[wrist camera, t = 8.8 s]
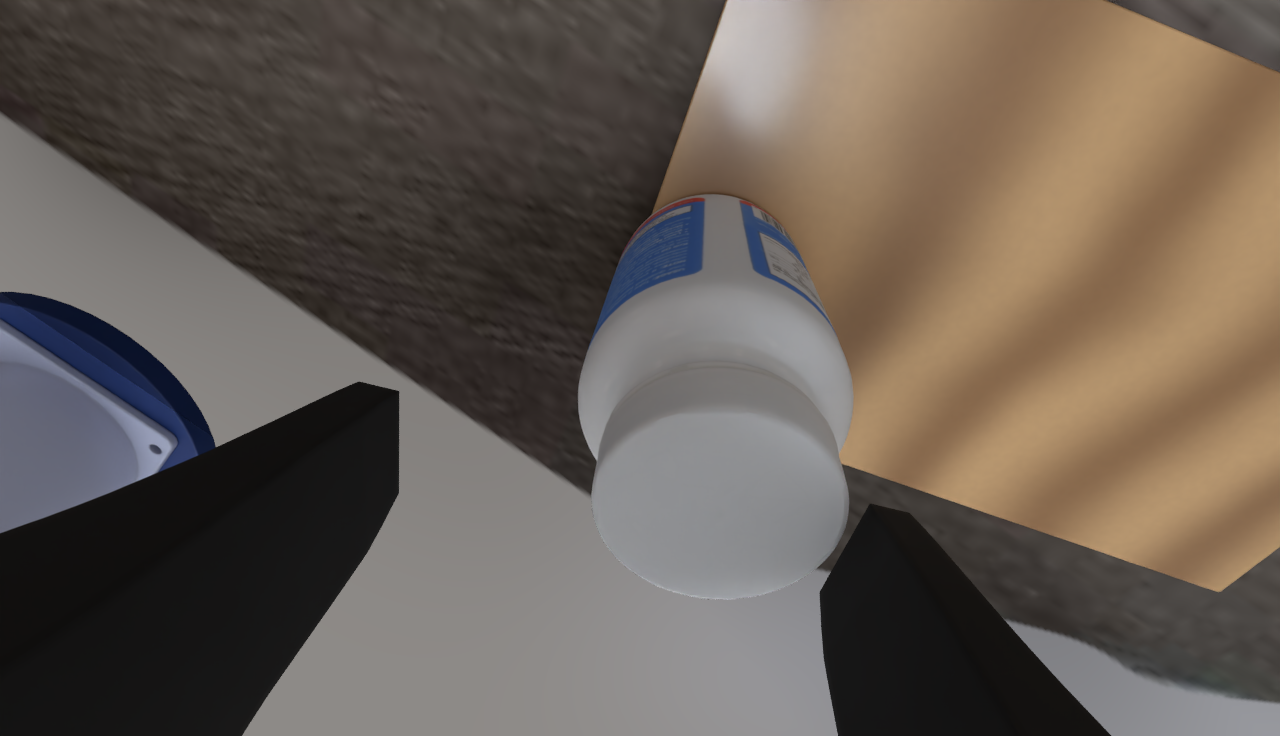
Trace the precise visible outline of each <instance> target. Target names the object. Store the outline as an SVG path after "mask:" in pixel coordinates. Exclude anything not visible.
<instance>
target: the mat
mask: <svg viewBox="0 0 1280 736" xmlns="http://www.w3.org/2000/svg"><path fill="white" fill-rule="evenodd" d="M704 194H718V195H727V196H732V197H736V198H739V199H742V200H745V201H748V202H750V203H752V204H754V205H756V206H758V207H760V208H761V209H763V210H764V211H766V212H767V213H768V214H770V215H771V216H772V217H774V218H775V219H776V220H777V221H778V222H779V223H780V224H781V225H782V226H783V227H784V228H785V229H786V231H787V232H788V234H789V235H790V237H791V238H792V240H793V242H794V243H795V245H796V247H797V249H798V251H799V253H800V255H801V257H802V259H803V261H804V264H805V266H806V268H807V271H808V273H809V275H810V277H811V280H812V281H813V283H814V286H815V288H816V291H817V293H818V295H819V297H820V300H821V302H822V304H823V306H824V309H825V311H826V313H827V315H828V318H829V320H830V322H831V324H832V326H833V328H834V330H835V333H836V335H837V338H838V340H839V343H840V345H841V348H842V350H843V353H844V355H845V358H846V361H847V364H848V367H849V370H850V373H851V378H852V386H853V396H854V398H853V413H852V419H851V424H850V428H849V432H848V435H847V438H846V440H845V443H844V445H843V447H842V449H841V451H840V453H839V458H840V461H841V463H842V464H845V465H848V466H851V467H853V468H856V469H859V470H862V471H865V472H868V473H871V474H874V475H877V476H880V477H883V478H886V479H889V480H891V481H894V482H897V483H900V484H903V485H906V486H909V487H912V488H915V489H918V490H921V491H924V492H927V493H930V494H932V495H935V496H938V497H941V498H944V499H947V500H950V501H953V502H956V503H959V504H962V505H965V506H968V507H970V508H973V509H976V510H979V511H982V512H985V513H988V514H991V515H994V516H997V517H1000V518H1003V519H1006V520H1009V521H1011V522H1014V523H1017V524H1020V525H1023V526H1026V527H1029V528H1032V529H1035V530H1038V531H1041V532H1044V533H1047V534H1049V535H1052V536H1055V537H1058V538H1061V539H1064V540H1067V541H1070V542H1073V543H1076V544H1079V545H1082V546H1085V547H1088V548H1090V549H1093V550H1096V551H1099V552H1102V553H1105V554H1108V555H1111V556H1114V557H1117V558H1120V559H1123V560H1126V561H1128V562H1131V563H1134V564H1137V565H1140V566H1143V567H1146V568H1149V569H1152V570H1155V571H1158V572H1161V573H1164V574H1167V575H1169V576H1172V577H1175V578H1178V579H1181V580H1184V581H1187V582H1190V583H1193V584H1196V585H1199V586H1202V587H1205V588H1207V589H1210V590H1213V591H1216V592H1221V591H1222V590H1223V589H1225V588H1226V587H1227V586H1229V585H1230V584H1231V583H1233V582H1234V581H1235V580H1237V579H1238V578H1239V577H1241V576H1242V575H1243V574H1245V573H1246V572H1247V571H1249V570H1250V569H1251V568H1253V567H1254V566H1255V565H1256V564H1258V563H1259V562H1260V561H1262V560H1263V559H1264V558H1266V557H1267V556H1268V555H1270V554H1271V553H1272V552H1274V551H1275V550H1276V549H1278V548H1279V547H1280V72H1278V71H1275V70H1273V69H1270V68H1268V67H1266V66H1263V65H1261V64H1258V63H1256V62H1253V61H1251V60H1249V59H1246V58H1244V57H1241V56H1239V55H1237V54H1234V53H1232V52H1229V51H1227V50H1225V49H1222V48H1220V47H1217V46H1215V45H1213V44H1210V43H1208V42H1205V41H1203V40H1201V39H1198V38H1196V37H1193V36H1191V35H1189V34H1186V33H1184V32H1181V31H1179V30H1177V29H1174V28H1172V27H1169V26H1167V25H1165V24H1162V23H1160V22H1157V21H1155V20H1152V19H1150V18H1148V17H1145V16H1143V15H1140V14H1138V13H1136V12H1133V11H1131V10H1128V9H1126V8H1124V7H1121V6H1119V5H1116V4H1114V3H1112V2H1109V1H1107V0H726V1H725V4H724V7H723V10H722V12H721V15H720V18H719V21H718V24H717V27H716V30H715V33H714V36H713V38H712V41H711V44H710V47H709V50H708V53H707V56H706V59H705V62H704V64H703V67H702V70H701V73H700V76H699V79H698V82H697V85H696V87H695V90H694V93H693V96H692V99H691V102H690V105H689V108H688V111H687V113H686V116H685V119H684V122H683V125H682V128H681V131H680V134H679V137H678V139H677V142H676V145H675V148H674V151H673V154H672V157H671V160H670V163H669V165H668V168H667V171H666V174H665V177H664V180H663V183H662V186H661V189H660V191H659V194H658V197H657V200H656V203H655V206H654V209H653V212H652V214H653V213H655V212H656V211H658V210H659V209H661V208H662V207H664V206H666V205H668V204H670V203H672V202H675V201H677V200H680V199H683V198H686V197H690V196H696V195H704Z"/></svg>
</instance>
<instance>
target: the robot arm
mask: <svg viewBox="0 0 1280 736" xmlns="http://www.w3.org/2000/svg"><path fill="white" fill-rule="evenodd" d="M177 444H178V441H177V438H176V436H175V435H174V434H173V433H172V432H170V431H169V430H167V429H166V428H164V427H163V426H161V425H160V424H158V423H157V422H155V421H154V420H152V419H151V418H149V417H148V416H146V415H145V414H143V413H142V412H140V411H139V410H137V409H136V408H134V407H133V406H131V405H130V404H128V403H127V402H125V401H124V400H122V399H121V398H119V397H118V396H116V395H115V394H113V393H112V392H110V391H109V390H107V389H106V388H104V387H103V386H101V385H100V384H98V383H97V382H95V381H94V380H92V379H91V378H89V377H88V376H86V375H85V374H83V373H82V372H80V371H79V370H77V369H76V368H74V367H73V366H71V365H70V364H68V363H67V362H65V361H64V360H62V359H61V358H59V357H58V356H56V355H55V354H53V353H52V352H50V351H49V350H47V349H46V348H44V347H43V346H41V345H40V344H38V343H37V342H35V341H34V340H32V339H31V338H29V337H27V336H26V335H24V334H23V333H21V332H20V331H18V330H17V329H15V328H14V327H12V326H11V325H9V324H8V323H6V322H5V321H3V320H2V319H0V736H242V735H243V733H244V731H245V730H246V728H247V727H248V725H249V723H250V722H251V721H252V719H253V717H254V716H255V714H256V712H257V711H258V710H259V708H260V707H261V705H262V703H263V702H264V700H265V699H266V697H267V696H268V694H269V693H270V691H271V690H272V689H273V687H274V686H275V684H276V683H277V681H278V680H279V679H280V677H281V676H282V674H283V673H284V672H285V670H286V669H287V667H288V666H289V664H290V663H291V662H292V660H293V659H294V657H295V656H296V654H297V653H298V651H299V650H300V648H301V647H302V646H303V644H304V643H305V641H306V640H307V639H308V637H309V636H310V634H311V633H312V632H313V630H314V629H315V627H316V626H317V624H318V623H319V622H320V620H321V619H322V617H323V616H324V615H325V613H326V612H327V610H328V609H329V607H330V606H331V604H332V603H333V602H334V600H335V599H336V597H337V596H338V594H339V593H340V592H341V590H342V589H343V587H344V586H345V584H346V583H347V581H348V580H349V579H350V577H351V576H352V574H353V573H354V571H355V570H356V568H357V567H358V565H359V564H360V563H361V561H362V560H363V558H364V557H365V555H366V554H367V552H368V550H369V549H370V547H371V545H372V543H373V541H374V539H375V537H376V536H377V534H378V532H379V530H380V528H381V527H382V525H383V523H384V521H385V519H386V517H387V515H388V513H389V511H390V509H391V507H392V505H393V503H394V501H395V499H396V497H397V495H398V493H399V391H396V390H392V389H388V388H383V387H379V386H375V385H371V384H367V383H363V382H357V383H354V384H352V385H350V386H347V387H345V388H343V389H340V390H338V391H336V392H334V393H332V394H329V395H328V396H325V397H323V398H321V399H319V400H317V401H315V402H312V403H310V404H308V405H306V406H304V407H302V408H300V409H298V410H296V411H293V412H291V413H289V414H287V415H285V416H283V417H281V418H279V419H277V420H275V421H273V422H270V423H268V424H266V425H264V426H262V427H259V428H257V429H255V430H253V431H251V432H249V433H247V434H244V435H242V436H240V437H238V438H236V439H234V440H231V441H229V442H227V443H225V444H223V445H221V446H218V447H216V448H214V449H212V450H210V451H207V452H205V453H203V454H200V455H198V456H196V457H193V458H191V459H189V460H186V461H184V462H181V463H179V464H177V465H174V466H172V467H170V468H167V469H165V470H162V471H160V472H158V471H159V470H160V469H161V467H162V466H163V464H164V463H165V462H166V460H167V459H168V457H169V456H170V455H171V453H172V452H173V450H174V449H175V448H176V446H177ZM820 607H821V608H820V609H821V627H822V641H823V654H824V662H825V668H826V674H827V679H828V684H829V689H830V695H831V700H832V706H833V711H834V716H835V722H836V727H837V732H838V736H1111V735H1110V734H1109V733H1108V732H1107V731H1106V730H1105V729H1104V728H1103V727H1102V726H1101V725H1100V723H1098V721H1097V720H1096V719H1095V718H1094V717H1093V716H1092V715H1091V714H1090V713H1089V712H1088V711H1087V710H1086V709H1085V708H1084V707H1083V706H1082V705H1081V704H1080V703H1079V702H1078V700H1077V699H1076V698H1075V697H1074V696H1073V695H1072V694H1071V693H1070V692H1069V691H1068V690H1067V689H1066V688H1065V687H1064V686H1063V685H1062V684H1061V683H1060V681H1059V680H1058V679H1057V678H1056V677H1055V676H1054V675H1053V674H1052V673H1051V672H1050V670H1049V669H1048V668H1047V667H1046V666H1045V665H1044V664H1043V663H1042V662H1041V661H1040V660H1039V658H1038V657H1037V656H1036V655H1035V654H1034V653H1033V652H1032V651H1031V650H1030V649H1029V648H1028V646H1027V645H1026V644H1025V643H1024V642H1023V641H1022V640H1021V638H1020V637H1019V636H1018V635H1017V634H1016V633H1015V632H1014V631H1013V629H1012V628H1011V627H1010V626H1009V625H1008V624H1007V623H1006V621H1005V620H1004V619H1003V618H1002V617H1001V616H1000V615H999V613H998V612H997V611H996V610H995V609H994V608H993V607H992V605H991V604H990V603H989V602H988V601H987V600H986V598H985V597H984V596H983V595H982V594H981V593H980V592H979V590H978V589H977V588H976V587H975V586H974V585H973V583H972V582H971V581H970V580H969V579H968V578H967V577H966V575H965V574H964V573H963V572H962V571H961V570H960V568H959V567H958V566H957V565H956V564H955V563H954V561H953V560H952V559H951V558H950V557H949V556H948V555H947V553H946V552H945V551H944V550H943V549H942V548H941V547H940V545H939V544H938V543H937V542H936V541H935V540H934V539H933V538H932V536H931V535H930V534H929V533H928V532H927V531H926V530H925V529H924V528H923V527H922V526H921V524H920V523H919V522H918V521H917V520H916V519H915V518H914V517H913V516H912V515H911V514H910V513H907V512H903V511H899V510H895V509H890V508H886V507H882V506H878V505H874V504H870V505H869V506H868V508H867V510H866V512H865V513H864V515H863V517H862V519H861V520H860V522H859V524H858V526H857V527H856V529H855V531H854V533H853V534H852V536H851V538H850V540H849V541H848V543H847V545H846V547H845V548H844V550H843V552H842V554H841V555H840V557H839V559H838V561H837V563H836V564H835V566H834V568H833V570H832V571H831V573H830V575H829V577H828V578H827V580H826V582H825V584H824V586H823V587H822V589H821V591H820Z"/></svg>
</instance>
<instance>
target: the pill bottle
mask: <svg viewBox="0 0 1280 736" xmlns="http://www.w3.org/2000/svg"><path fill="white" fill-rule="evenodd" d="M853 398H854V396H853V386H852V378H851V373H850V370H849V367H848V364H847V361H846V358H845V355H844V353H843V350H842V348H841V345H840V343H839V340H838V338H837V335H836V333H835V330H834V328H833V326H832V324H831V322H830V320H829V318H828V315H827V313H826V311H825V309H824V306H823V304H822V302H821V300H820V297H819V295H818V293H817V291H816V288H815V286H814V283H813V281H812V280H811V277H810V275H809V273H808V271H807V268H806V266H805V264H804V261H803V259H802V257H801V255H800V253H799V251H798V249H797V247H796V245H795V243H794V242H793V240H792V238H791V237H790V235H789V234H788V232H787V231H786V229H785V228H784V227H783V226H782V225H781V224H780V223H779V222H778V221H777V220H776V219H775V218H774V217H772V216H771V215H770V214H768V213H767V212H766V211H764V210H763V209H761V208H760V207H758V206H756V205H754V204H752V203H750V202H748V201H745V200H742V199H739V198H736V197H732V196H727V195H718V194H704V195H696V196H690V197H686V198H683V199H680V200H677V201H675V202H672V203H670V204H668V205H666V206H664V207H662V208H661V209H659V210H658V211H656V212H655V213H653V214H652V215H651V216H650V217H649V218H647V219H646V220H645V221H644V222H643V223H642V224H641V225H640V226H639V228H638V229H637V230H636V231H635V233H634V234H633V236H632V237H631V239H630V240H629V242H628V244H627V245H626V247H625V249H624V251H623V253H622V255H621V258H620V260H619V263H618V266H617V269H616V272H615V274H614V277H613V280H612V283H611V285H610V288H609V291H608V294H607V297H606V299H605V302H604V305H603V308H602V311H601V314H600V317H599V320H598V323H597V325H596V328H595V331H594V334H593V337H592V340H591V342H590V345H589V348H588V351H587V354H586V357H585V361H584V364H583V368H582V372H581V376H580V381H579V388H578V411H579V417H580V423H581V427H582V430H583V433H584V436H585V439H586V441H587V444H588V446H589V448H590V450H591V452H592V454H593V455H594V457H595V459H596V460H597V465H596V470H595V475H594V479H593V486H592V494H591V502H592V512H593V517H594V520H595V524H596V527H597V529H598V531H599V534H600V536H601V537H602V539H603V541H604V543H605V544H606V546H607V547H608V549H609V550H610V551H611V553H612V554H613V555H614V556H615V557H616V558H617V559H618V560H619V561H620V562H621V563H622V564H623V565H624V566H625V567H627V568H628V569H629V570H630V571H632V572H633V573H635V574H636V575H638V576H639V577H641V578H643V579H644V580H646V581H648V582H650V583H652V584H653V585H656V586H658V587H661V588H663V589H666V590H669V591H671V592H675V593H679V594H683V595H686V596H692V597H697V598H702V599H740V598H748V597H754V596H759V595H763V594H767V593H770V592H773V591H776V590H779V589H782V588H784V587H787V586H789V585H791V584H793V583H795V582H797V581H799V580H801V579H802V578H804V577H805V576H807V575H808V574H810V573H811V572H813V571H814V570H815V569H816V568H817V567H818V566H820V565H821V564H822V563H823V562H824V561H825V560H826V559H827V558H828V557H829V555H830V554H831V553H832V552H833V550H834V549H835V548H836V546H837V544H838V542H839V540H840V539H841V536H842V534H843V532H844V530H845V527H846V523H847V518H848V512H849V495H848V487H847V483H846V480H845V476H844V472H843V468H842V465H841V461H840V458H839V453H840V451H841V449H842V447H843V445H844V443H845V440H846V438H847V435H848V432H849V428H850V424H851V419H852V413H853Z"/></svg>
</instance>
